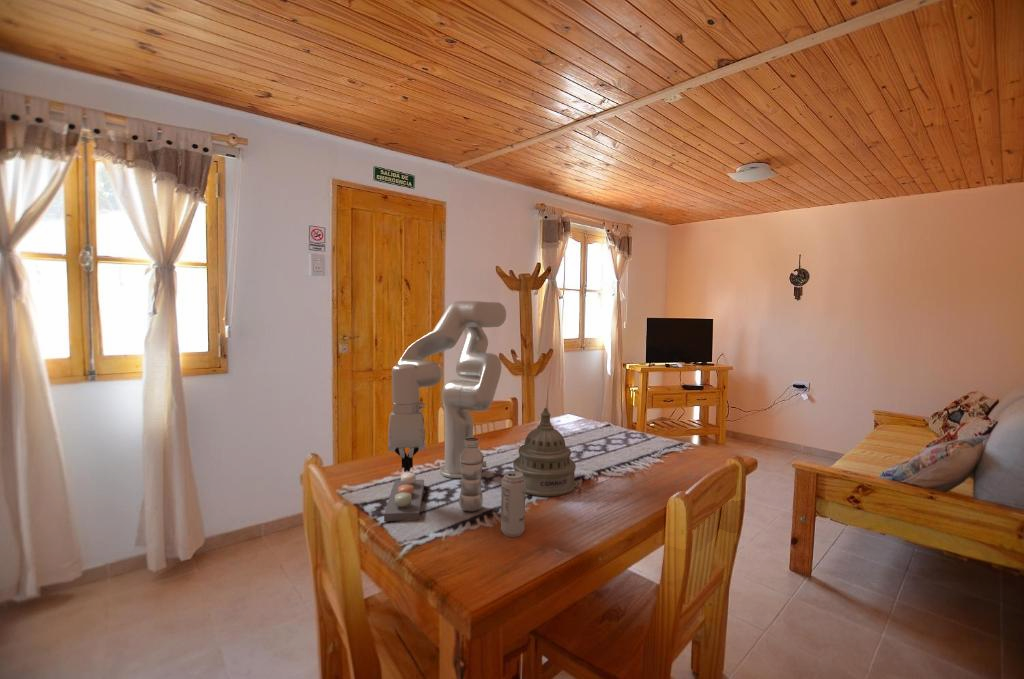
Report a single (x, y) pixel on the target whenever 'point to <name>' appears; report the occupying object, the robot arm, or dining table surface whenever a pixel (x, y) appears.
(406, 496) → the key sage
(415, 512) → the button board
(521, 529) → the energy drink can
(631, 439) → the dining table surface
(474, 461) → the plastic bottle
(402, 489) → the key terracotta
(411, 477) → the key cream
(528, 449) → the dome
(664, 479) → the dining table surface
